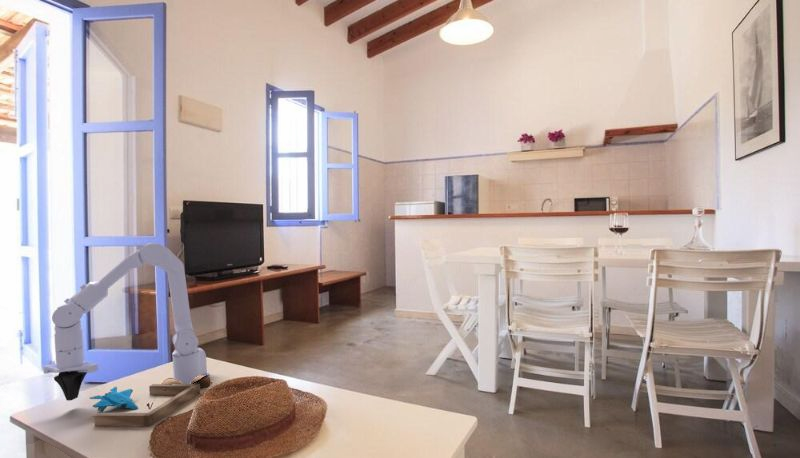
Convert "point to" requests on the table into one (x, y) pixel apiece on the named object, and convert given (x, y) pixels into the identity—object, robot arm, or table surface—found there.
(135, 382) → the table surface
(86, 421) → the table surface
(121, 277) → the robot arm
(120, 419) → the brown wooden u shape
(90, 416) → the table surface
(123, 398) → the toy airplane
